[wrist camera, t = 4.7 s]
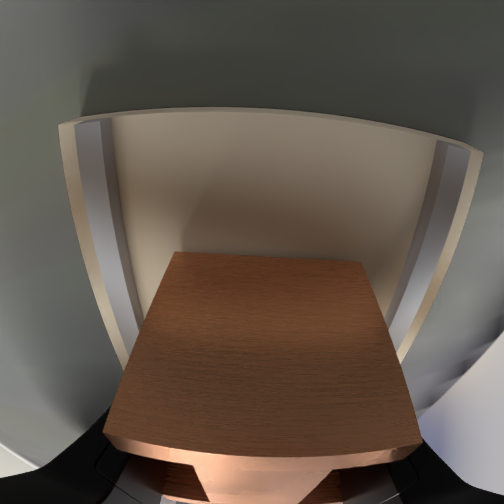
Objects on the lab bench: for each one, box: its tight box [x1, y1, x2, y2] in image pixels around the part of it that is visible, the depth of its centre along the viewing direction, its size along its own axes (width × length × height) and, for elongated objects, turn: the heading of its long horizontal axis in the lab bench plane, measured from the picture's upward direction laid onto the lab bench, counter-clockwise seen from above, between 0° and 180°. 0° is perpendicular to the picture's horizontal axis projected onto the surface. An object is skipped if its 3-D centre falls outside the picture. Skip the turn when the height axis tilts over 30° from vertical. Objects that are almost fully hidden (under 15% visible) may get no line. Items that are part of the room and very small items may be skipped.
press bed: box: [58, 107, 484, 371], centre depth 13 cm, size 22×12×2 cm, turn 178°
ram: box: [103, 251, 423, 504], centre depth 9 cm, size 10×7×5 cm
